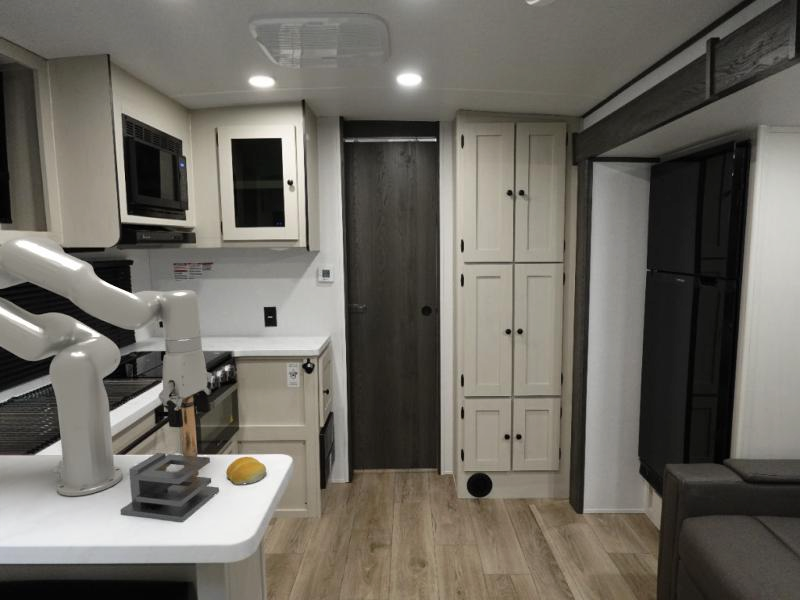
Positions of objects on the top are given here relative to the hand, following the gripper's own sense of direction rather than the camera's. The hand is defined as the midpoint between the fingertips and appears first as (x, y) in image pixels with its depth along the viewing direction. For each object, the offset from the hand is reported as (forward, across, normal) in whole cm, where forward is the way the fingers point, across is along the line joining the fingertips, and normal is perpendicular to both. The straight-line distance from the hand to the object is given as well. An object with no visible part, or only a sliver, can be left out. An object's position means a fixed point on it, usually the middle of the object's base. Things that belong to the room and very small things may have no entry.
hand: (190, 419), depth 114 cm
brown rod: (+13, 0, -1) cm, 13 cm away
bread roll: (+14, -2, +12) cm, 19 cm away
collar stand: (+13, +12, +4) cm, 19 cm away
